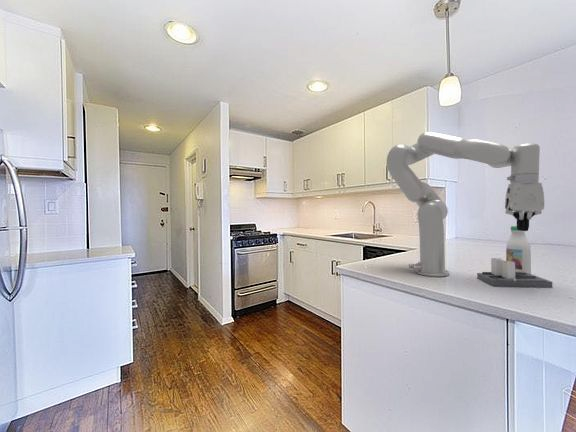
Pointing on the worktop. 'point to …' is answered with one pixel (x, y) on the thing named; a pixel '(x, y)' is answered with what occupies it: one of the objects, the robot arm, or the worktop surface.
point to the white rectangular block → (496, 266)
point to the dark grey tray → (514, 280)
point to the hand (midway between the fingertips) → (522, 230)
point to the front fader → (508, 269)
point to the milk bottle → (519, 251)
